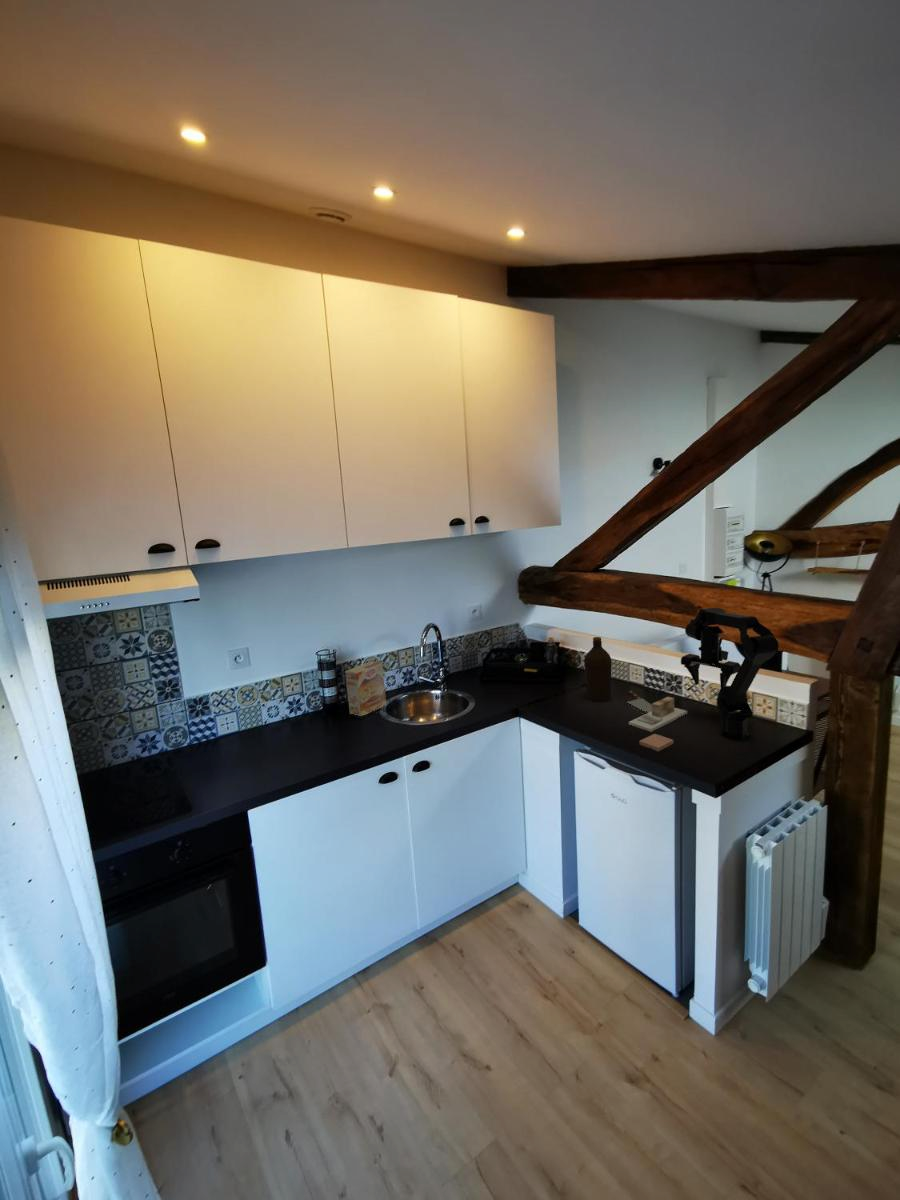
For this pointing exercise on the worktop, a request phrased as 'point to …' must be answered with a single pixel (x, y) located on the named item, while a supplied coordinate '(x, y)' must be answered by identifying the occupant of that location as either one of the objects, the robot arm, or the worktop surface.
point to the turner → (658, 711)
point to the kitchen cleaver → (640, 702)
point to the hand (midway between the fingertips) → (709, 687)
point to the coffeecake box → (365, 688)
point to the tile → (656, 742)
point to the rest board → (666, 720)
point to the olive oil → (598, 672)
